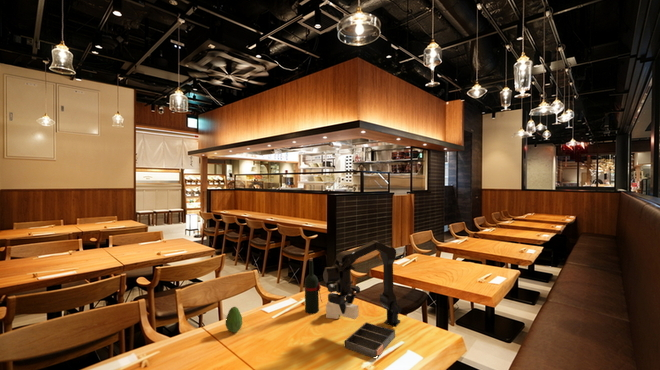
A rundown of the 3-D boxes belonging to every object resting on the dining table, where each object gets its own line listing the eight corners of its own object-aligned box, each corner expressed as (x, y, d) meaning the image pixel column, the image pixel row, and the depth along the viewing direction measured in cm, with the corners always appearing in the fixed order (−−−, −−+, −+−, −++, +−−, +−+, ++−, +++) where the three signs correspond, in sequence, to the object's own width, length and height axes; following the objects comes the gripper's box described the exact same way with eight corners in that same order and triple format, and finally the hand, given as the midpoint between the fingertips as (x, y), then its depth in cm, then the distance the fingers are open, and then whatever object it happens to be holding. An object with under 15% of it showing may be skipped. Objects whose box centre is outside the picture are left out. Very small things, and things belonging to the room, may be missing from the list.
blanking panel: (337, 310, 142) (337, 300, 142) (358, 316, 135) (358, 305, 135) (333, 313, 139) (332, 302, 139) (354, 319, 132) (354, 308, 132)
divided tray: (366, 328, 143) (366, 322, 143) (395, 337, 134) (395, 330, 134) (344, 347, 126) (344, 340, 126) (376, 359, 117) (376, 352, 117)
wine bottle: (322, 313, 160) (321, 260, 160) (304, 314, 160) (303, 260, 160) (323, 307, 168) (322, 256, 168) (305, 308, 168) (304, 256, 168)
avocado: (237, 326, 147) (237, 302, 147) (245, 331, 142) (244, 307, 142) (222, 331, 142) (222, 307, 142) (229, 337, 136) (229, 312, 136)
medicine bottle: (339, 319, 153) (338, 296, 153) (326, 318, 154) (325, 295, 154) (341, 313, 160) (340, 291, 160) (328, 312, 161) (328, 291, 161)
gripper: (341, 271, 149) (342, 301, 149) (319, 281, 134) (320, 315, 134) (360, 275, 143) (360, 306, 143) (339, 286, 128) (340, 321, 128)
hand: (345, 311), depth 137 cm, fingers closed on blanking panel, 4 cm apart
